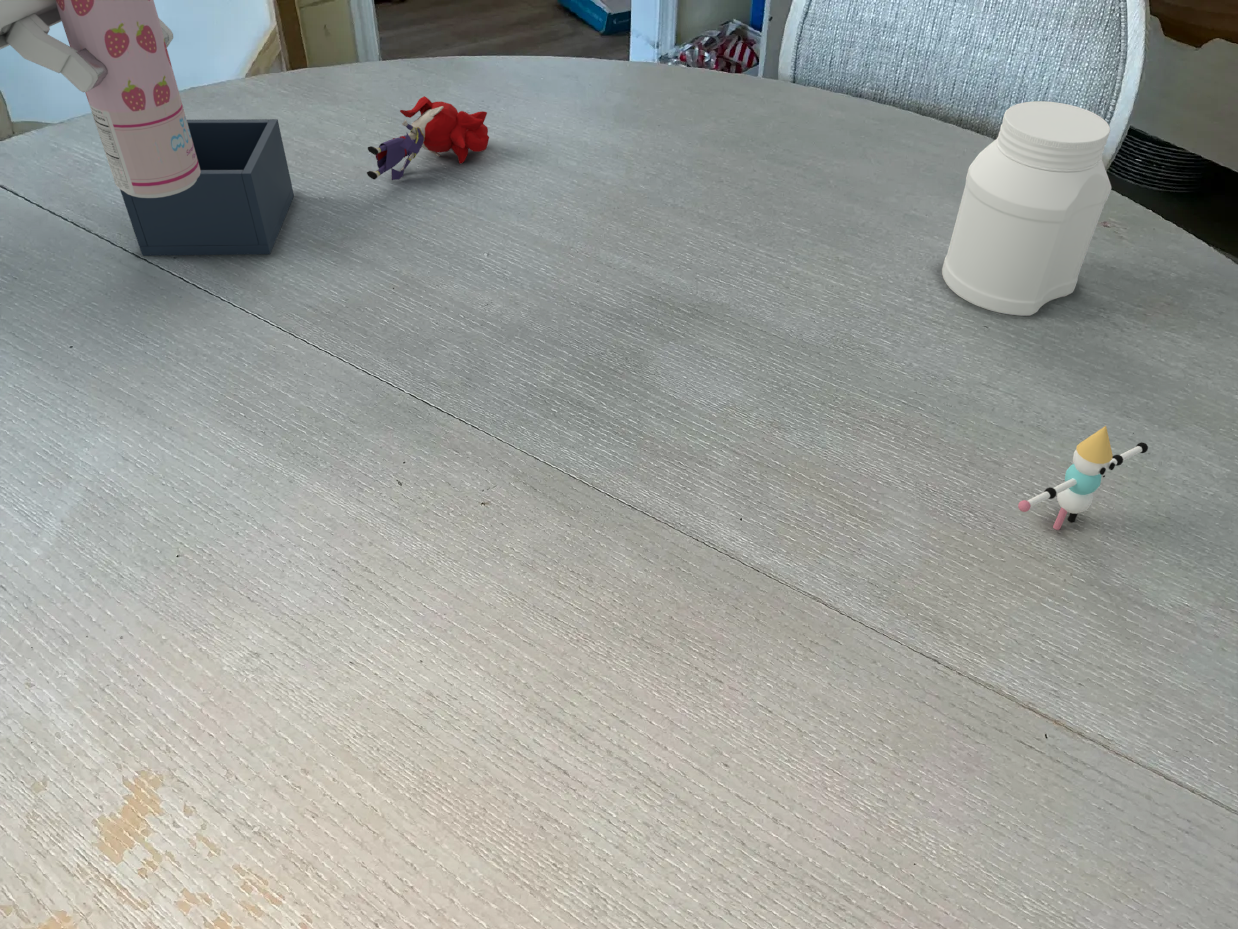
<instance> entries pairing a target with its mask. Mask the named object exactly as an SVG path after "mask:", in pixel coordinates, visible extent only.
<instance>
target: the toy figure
mask: <svg viewBox="0 0 1238 929" xmlns="http://www.w3.org/2000/svg"><path fill="white" fill-rule="evenodd" d="M1110 441H1111V440H1110V437H1109V432H1108V428H1107V425H1105V426H1103V427H1102V428H1100V429H1098V430H1097V431H1095V432H1094V433H1093V434H1091V435H1089V436H1088V437H1086V438H1085V439H1084V440H1082V441H1080V442H1079V444H1077V445H1076V449H1075V450H1074V452H1073V455H1072V456H1073V457H1072V462H1073V463H1072V464H1070V466H1069V467H1068V468H1067V469H1066V470H1065V475H1064V481H1063V482H1062V483H1060V484H1058V485H1056V486H1054V487H1047V488H1045V489H1044V491H1043V492H1041V493H1040V494H1037V495H1036V496H1033V497H1032V498H1029V499H1028V500H1026V499H1023V500H1021V501H1019V503H1018V504H1017V508H1018V510H1019V511H1020V512H1023V513H1026V512H1028V511H1030V509H1031V507H1034V506H1036V505H1038V504H1040V503H1042V502H1044V501H1046V500H1048V499H1049V500H1052V499H1055V498H1056V500H1057V503H1058V506H1059V507H1060V509H1059V511H1058V515H1057V516H1056V519H1055V521H1054V523H1053V526H1052V527H1053V529H1054V530H1057V531H1059V530H1061V528H1062V526H1063V523H1064V522H1065V519H1066V518H1067V521H1068V522H1069V523H1075V521H1076V519H1077V517H1078V515H1079V514H1081V513H1083V512H1086V511H1087V510H1088V509H1089V508H1090V507H1091V506H1092V505H1093V500H1094V499H1093V498H1094V492H1096V491H1097V490H1098V489H1099V487H1100V486H1101V483H1102V478H1106V475H1105V474H1106V471H1107V470H1110V471H1113V470H1114V469H1115V467H1116V466H1117V467H1119V466H1121V465H1122V464H1123V462H1124V461H1126V460H1128V459H1130V458H1132V457H1135V456H1137V455H1139V454H1145V453H1147V451H1148V450H1149V446H1148V444H1147V442H1142V441H1141V442H1138V443H1137V444H1136V445H1135V447H1133V448H1131V449H1129V450H1127V451H1125V452H1122V453H1120V454H1114V455H1113V450H1112V446H1111V442H1110ZM1068 513H1069V515H1068ZM1067 515H1068V517H1067Z"/></svg>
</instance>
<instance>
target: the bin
mask: <svg viewBox="0 0 1238 929" xmlns="http://www.w3.org/2000/svg"><path fill="white" fill-rule="evenodd" d="M186 120H187V123H188V127H189V130H190V134H191V138H192V141H193V145H194V149H195V152H196V156H197V159H198V163H199V167H200V171H201V173H200V176H199V177H198V178H197V181H196V182H195V183H194V185H192V186H191V187H190V188H188V189H186V190H185V191H182V192H180V193H177V194H174V195H170V196H165V197H158V198H140V197H135V196H131V195H129V194H127V193H126V192H124V191H122V190H121V189H119V191H120V194H121V197H122V200H123V203H124V206H125V208H126V212H127V214H128V217H129V221H130V223H131V227H132V229H133V232H134V235H135V239H136V241H137V244H138V247H139V250H140V253H141V256H144V257H145V256H154V257H155V256H219V255H220V256H229V255H233V256H237V255H238V256H239V255H241V256H242V255H246V256H247V255H249V256H250V255H271V253H272V251H273V248H274V246H275V243H276V241H277V238H278V236H279V233H280V231H281V229H282V226H283V224H284V221H285V218H286V216H287V215H288V211H289V209H290V207H291V204H292V202H293V200H294V197H295V195H294V190H293V184H292V180H291V175H290V171H289V165H288V161H287V156H286V152H285V147H284V142H283V137H282V133H281V128H280V123H279V119H278V118H270V119H269V118H268V119H267V118H265V119H264V118H259V119H258V118H255V119H254V118H253V119H251V118H249V119H248V118H246V119H244V118H243V119H240V118H239V119H235V118H234V119H233V118H231V119H226V118H225V119H186Z"/></svg>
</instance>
